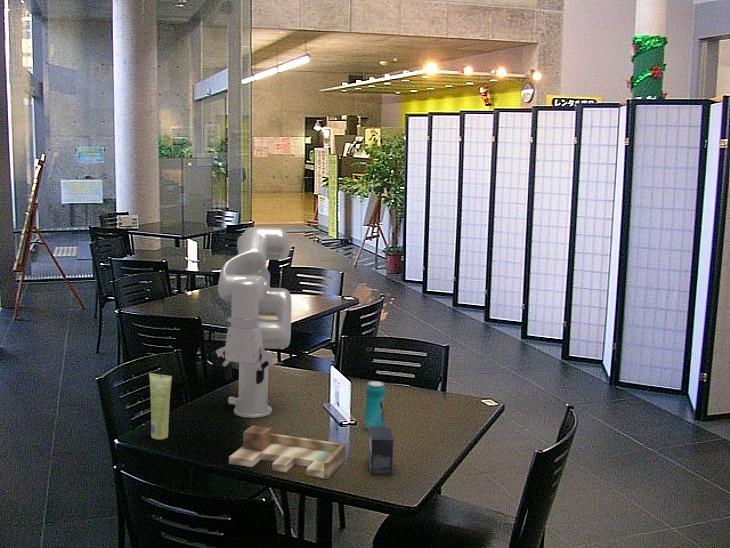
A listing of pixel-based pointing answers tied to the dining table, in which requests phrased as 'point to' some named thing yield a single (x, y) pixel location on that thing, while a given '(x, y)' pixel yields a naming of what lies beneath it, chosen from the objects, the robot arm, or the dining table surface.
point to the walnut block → (257, 438)
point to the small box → (380, 450)
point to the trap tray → (295, 455)
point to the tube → (160, 405)
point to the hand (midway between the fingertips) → (243, 380)
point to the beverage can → (375, 404)
